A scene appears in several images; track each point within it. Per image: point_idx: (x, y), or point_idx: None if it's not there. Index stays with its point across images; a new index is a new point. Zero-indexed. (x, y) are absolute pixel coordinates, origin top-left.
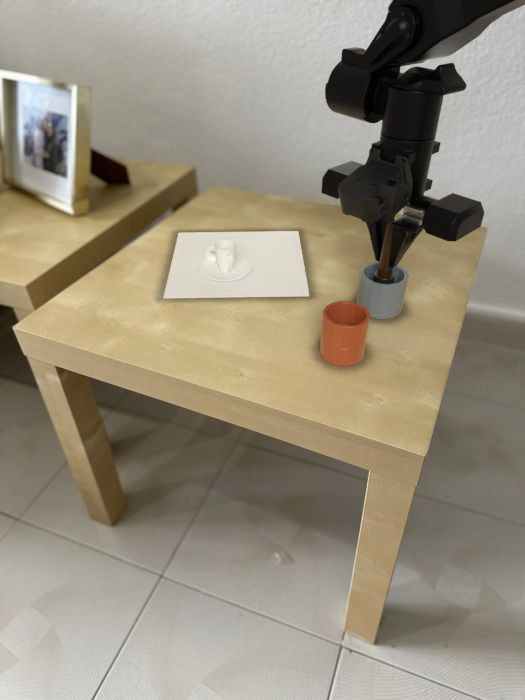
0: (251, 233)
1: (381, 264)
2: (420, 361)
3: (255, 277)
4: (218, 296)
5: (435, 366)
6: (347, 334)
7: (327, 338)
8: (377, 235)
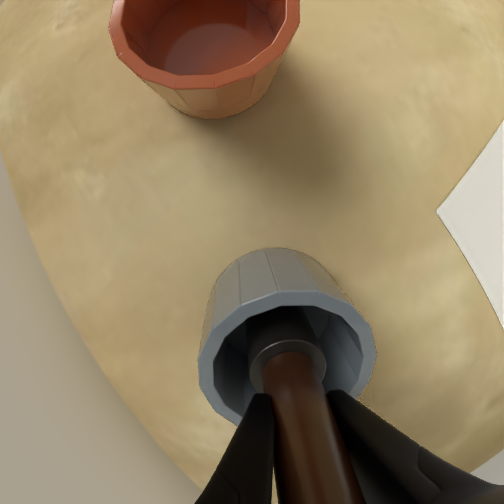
0: None
1: (303, 382)
2: (57, 189)
3: None
4: None
5: (31, 201)
6: None
7: None
8: (388, 472)
